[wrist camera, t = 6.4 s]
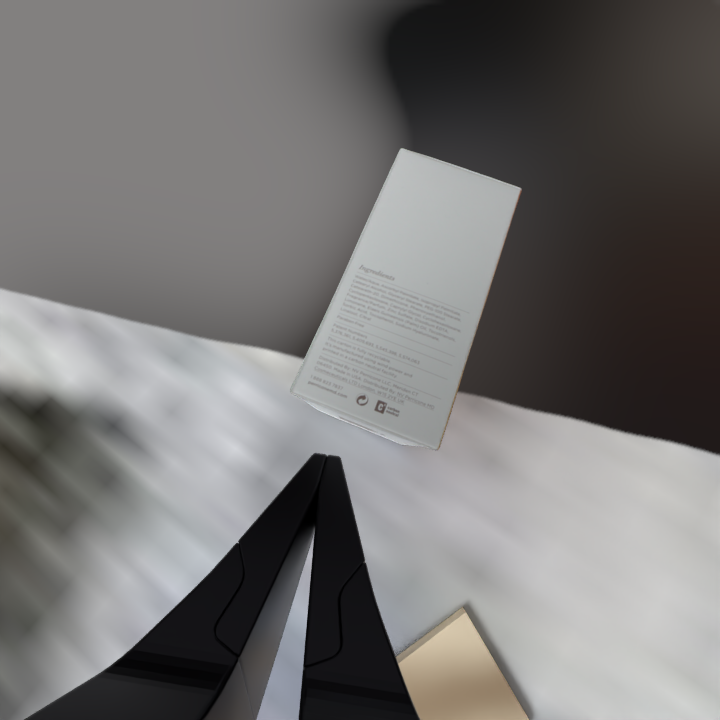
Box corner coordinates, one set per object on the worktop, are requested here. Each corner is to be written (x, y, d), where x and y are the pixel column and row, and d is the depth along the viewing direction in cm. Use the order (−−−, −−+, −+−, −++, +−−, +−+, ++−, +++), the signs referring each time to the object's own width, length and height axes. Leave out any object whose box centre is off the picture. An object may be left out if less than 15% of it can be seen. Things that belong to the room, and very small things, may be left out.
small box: (440, 456, 11) (527, 183, 14) (284, 393, 12) (398, 141, 15) (405, 446, 19) (466, 272, 22) (313, 409, 20) (383, 243, 23)
